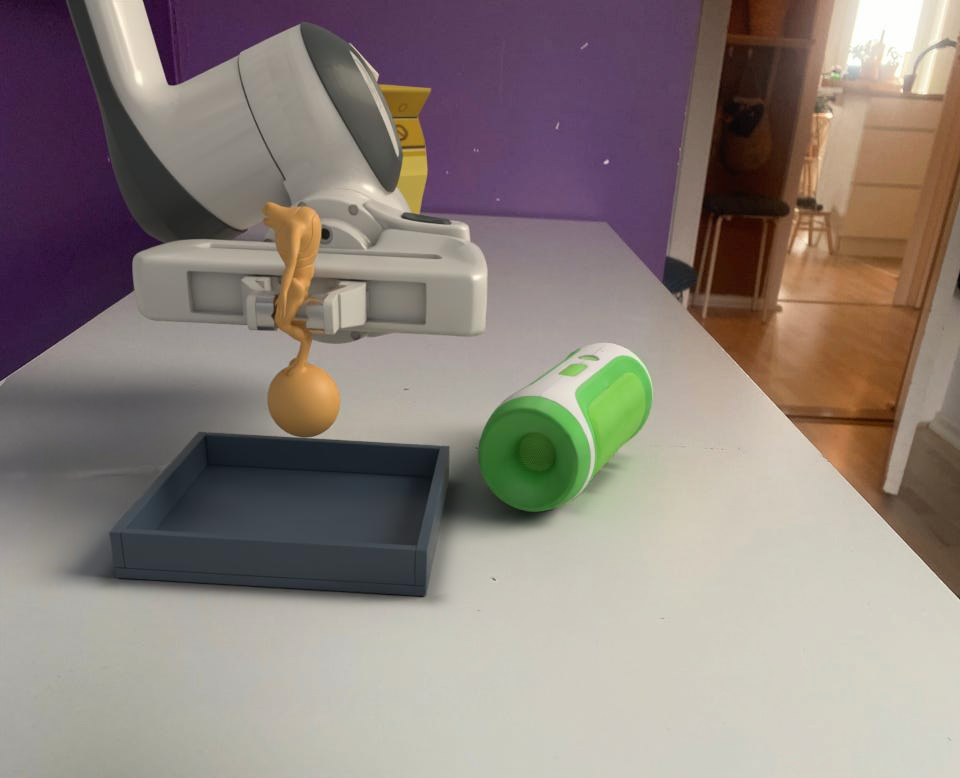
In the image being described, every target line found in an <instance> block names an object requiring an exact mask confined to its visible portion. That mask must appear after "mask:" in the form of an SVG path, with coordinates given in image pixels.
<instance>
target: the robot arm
mask: <svg viewBox="0 0 960 778" xmlns="http://www.w3.org/2000/svg"><path fill="white" fill-rule="evenodd" d="M65 3H66V6H67V8H68V12H69V14H70V18H71V22H72V24H73V27H74V30H75V34H76V36H77V40H78V43H79V46H80V49H81V53H82V56H83V58H84V62H85V65H86V68H87V70H88V74H89V78H90V80H91V84H92V87H93V90H94V94H95V96H96V100H97V104H98V108H99V111H100V115H101V119H102V124H103V130H104V134H105V139H106V140H105V141H106V144H107V150H108V154H109V159H110V163H111V167H112V170H113V174H114V177H115V180H116V183H117V187H118V189H119V192H120V193H121V196H122V199H123V201H124V203H125V205H126V207H127V209H128V210H129V212H130V214H131V215H132V217H133V218H134V220H135V222H136V223H137V224H138V226H139V227H140V228H141V229H142V230H143V231H144V232H145V233H146V234H147V235H148V236H150V237H152V238H154V239H156V240H157V241H159V242H162V243H161V244H159V245H155V246H151V247H149V248H147V249H143V250H141V251H139V252H137V253H135V255H134V256H133V258H132V281H133V290H134V295H135V302H136V307H137V310H138V312H139V314H140V315H141V316H143V317H144V318H146V319H148V320H151V321H155V322H156V321H157V322H174V323H195V324H215V325H235V326H247V329H248V330H249V331H260V332H261V331H263V332H277V331H278V330H279V328H278V326H277V325H276V323H275V320H274V317H275V314H276V309H277V305H276V306H275V302H276V300H277V298H278V297H279V295H280V289H281V281H282V277H283V273H284V271H285V268H286V267H285V264H284V262H283V260H282V259H281V257H280V255H279V253H278V251H277V248H276V244H275V231H274V230H273V229H272V228H270V227H269V229H268V230H267V233H266V234H265V237H264V238H263V239H264V240H263V241H250V240H234V239H236V238H238V237H239V236H241V235H243V234H244V233H246V232H248V230H249V229H250V228H252V227H254V226H257V225H258V224H261V223H263V221H262V220H263V218H267V219H268V216H265V215H264V214H263V213H262V209H263V207H264V205H265V204H266V203H267V202H272V203H275V204H277V205H279V206H282V207H287V208H290V207H303V206H305V207H309V208H311V209H313V210H314V211H315V212H316V213H317V214H318V216H319V218H320V222H321V239H320V244H319V249H318V253H317V257H316V259H315V262H314V263H313V264H314V276H313V278H312V279H311V281H310V286H309V289H308V294H307V298H306V300H305V301H304V302H303V304H302V305H301V307H300V309H299V311H298V312H297V314H296V315H295V319H296V320H303V321H305V322H306V331H307V333H311V335H312V341H315V342H318V343H322V344H323V343H324V344H329V345H341V344H348V343H353V342H356V341H359V340H361V339H363V338H366V337H367V338H370V339H371V338H377V337H383V336H386V335H391V334H409V335H426V336H446V337H447V336H448V337H461V338H471V337H472V338H473V337H479V336H481V335H484V333H485V331H486V323H487V321H486V320H487V308H488V307H487V306H488V273H489V272H488V265H487V263H488V262H487V260H486V257H485V255H484V253H483V251H482V249H481V248H480V247H479V246H478V244H475V243H474V242H472V240H471V232H470V231H471V229H470V226H469V225H468V224H467V223H465V222H463V221H459V220H450V219H449V218H444V217H437V216H431V215H425V214H421V213H420V214H415V213H411V210H410V208H409V206H408V204H407V202H406V200H405V198H404V197H403V195H402V193H401V192H400V191H399V189H398V188H397V187H396V186H397V183H398V180H399V177H400V173H401V167H402V161H403V152H402V147H401V143H400V139H399V135H398V132H397V129H396V126H395V123H394V120H393V117H392V114H391V112H390V109H389V107H388V104H387V102H386V100H385V97H384V95H383V93H382V91H381V89H380V87H379V85H378V84H379V83H378V80H377V81H376V79H375V77H374V75H373V74H372V72H371V70H370V69H369V67H368V66H367V64H366V63H365V61H364V60H363V59H362V57H361V56H360V55H359V53H360V52H359V51H358V50H357V49H356V48H355V47H354V46H353V47H354V48H355V49H356V50H357V51H358V52H359V53H358V52H357V51H356V50H355V49H354V48H353V47H352V46H351V45H350V44H349V43H348V42H347V41H345V40H344V39H343V38H341V37H340V36H338V35H336V34H335V33H333V32H332V31H330V30H328V29H326V28H324V27H323V26H319V25H317V24H315V23H311V22H306V21H301V23H299V24H297V25H295V26H292V27H290V28H288V29H286V30H284V31H281V32H279V33H276V34H275V35H273V36H271V37H269V38H267V39H264V40H262V41H260V42H258V43H257V44H253V45H252V46H250V47H249V48H247V49H244V50H242V51H240V52H239V54H238V55H236V56H234V57H232V58H230V59H229V60H226V61H224V62H222V63H219V64H218V65H215V66H214V67H212V68H209V69H208V70H206V71H204V72H202V73H200V74H197V75H196V76H193V77H192V78H189V79H188V80H185V81H184V82H181V83H179V84H175V85H171V84H168V81H167V79H166V74H165V72H164V68H163V65H162V62H161V59H160V54H159V51H158V47H157V44H156V41H155V37H154V34H153V31H152V27H151V24H150V21H149V17H148V13H147V11H146V7H145V4H144V1H143V0H65ZM277 304H278V303H277Z"/></svg>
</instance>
